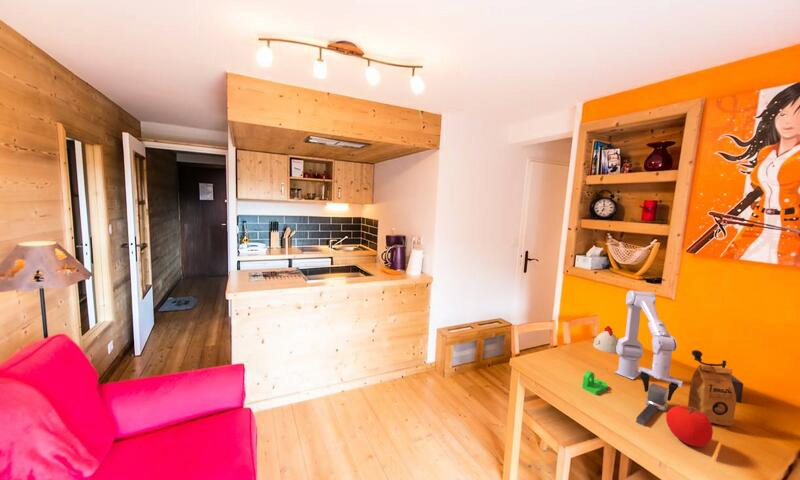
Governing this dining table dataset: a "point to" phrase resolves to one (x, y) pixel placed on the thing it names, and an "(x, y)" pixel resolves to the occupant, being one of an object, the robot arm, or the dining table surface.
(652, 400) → the grey square block
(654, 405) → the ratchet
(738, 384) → the manual coffee grinder
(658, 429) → the dining table surface
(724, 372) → the coffee package
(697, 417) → the tomato
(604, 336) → the kitchen timer
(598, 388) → the mechanical part
